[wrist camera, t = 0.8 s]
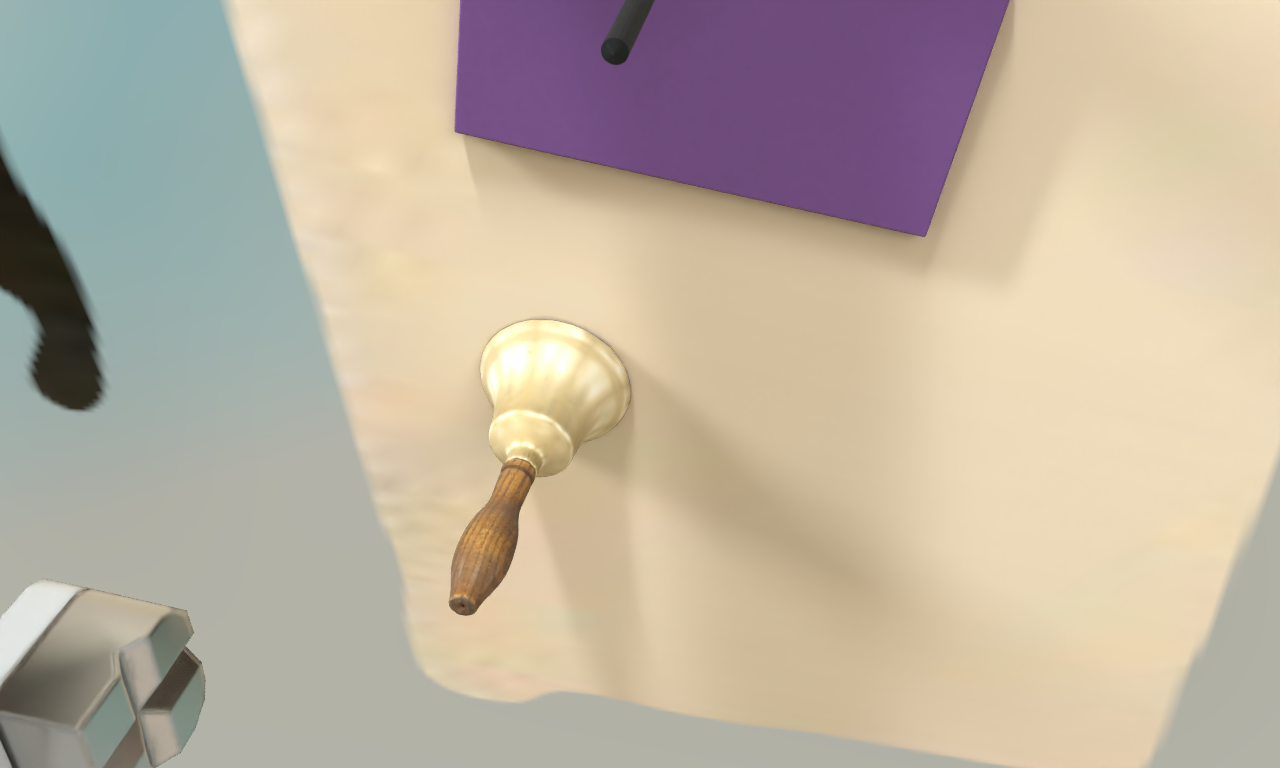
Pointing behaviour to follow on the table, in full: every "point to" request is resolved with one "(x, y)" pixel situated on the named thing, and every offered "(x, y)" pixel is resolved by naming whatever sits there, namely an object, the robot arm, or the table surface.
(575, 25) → the mat
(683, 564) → the table surface
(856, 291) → the table surface
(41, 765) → the robot arm
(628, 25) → the vintage mobile phone
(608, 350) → the hand bell
